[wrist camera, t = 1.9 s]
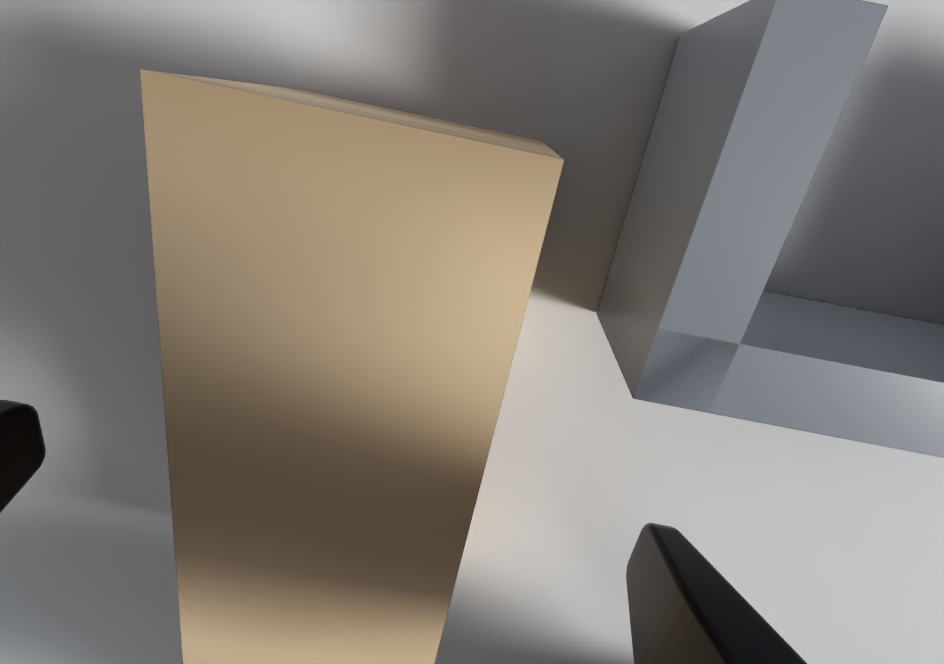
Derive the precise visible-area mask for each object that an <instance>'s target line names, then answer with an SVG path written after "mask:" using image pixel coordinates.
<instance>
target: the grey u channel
mask: <svg viewBox="0 0 944 664" xmlns="http://www.w3.org/2000/svg"><path fill="white" fill-rule="evenodd" d="M887 8H888V5H883V4H878V3H873V2H868V1H862V0H750V1H748V2H746V3H744V4H742V5H740V6H738V7H736V8H734V9H732V10H730V11H727V12H725V13H723V14H721V15H719V16H717V17H715V18H713V19H711V20H709V21H707V22H705V23H703V24H701V25H699V26H697V27H695V28H693V29H691V30H689V31H686V32H684V33H682V34H680V37H679V41H678V44H677V47H676V51H675V54H674V57H673V61H672V64H671V67H670V71H669V74H668V77H667V81H666V84H665V87H664V91H663V94H662V97H661V101H660V104H659V107H658V111H657V114H656V117H655V121H654V124H653V127H652V131H651V134H650V137H649V141H648V144H647V147H646V151H645V154H644V157H643V161H642V164H641V167H640V171H639V174H638V177H637V181H636V184H635V187H634V191H633V194H632V197H631V201H630V204H629V207H628V211H627V214H626V217H625V221H624V224H623V227H622V231H621V234H620V237H619V241H618V244H617V247H616V251H615V254H614V257H613V261H612V264H611V267H610V271H609V274H608V277H607V281H606V284H605V287H604V291H603V294H602V297H601V301H600V304H599V307H598V311H597V316H598V318H599V320H600V323H601V325H602V327H603V330H604V332H605V334H606V337H607V339H608V341H609V344H610V346H611V348H612V351H613V353H614V355H615V358H616V360H617V362H618V365H619V367H620V369H621V372H622V374H623V376H624V379H625V381H626V383H627V386H628V388H629V390H630V393H631V395H632V397H633V399H639V400H644V401H649V402H654V403H660V404H665V405H670V406H675V407H681V408H686V409H691V410H696V411H701V412H707V413H712V414H717V415H722V416H728V417H733V418H738V419H743V420H749V421H754V422H759V423H764V424H770V425H775V426H780V427H785V428H791V429H796V430H801V431H806V432H812V433H817V434H822V435H827V436H832V437H838V438H843V439H848V440H853V441H859V442H864V443H869V444H874V445H880V446H885V447H890V448H895V449H901V450H906V451H911V452H916V453H922V454H927V455H932V456H937V457H943V458H944V325H941V324H935V323H930V322H925V321H920V320H915V319H909V318H904V317H899V316H894V315H888V314H883V313H878V312H873V311H867V310H862V309H857V308H852V307H847V306H841V305H836V304H831V303H826V302H820V301H815V300H810V299H805V298H800V297H794V296H789V295H784V294H779V293H773V292H768V291H763V290H764V287H765V285H766V283H767V281H768V278H769V276H770V274H771V272H772V269H773V267H774V265H775V262H776V260H777V258H778V256H779V253H780V251H781V249H782V247H783V244H784V242H785V240H786V237H787V235H788V233H789V231H790V228H791V226H792V224H793V222H794V219H795V217H796V215H797V213H798V210H799V208H800V206H801V203H802V201H803V199H804V197H805V194H806V192H807V190H808V188H809V185H810V183H811V181H812V178H813V176H814V174H815V172H816V169H817V167H818V165H819V163H820V160H821V158H822V156H823V153H824V151H825V149H826V147H827V144H828V142H829V140H830V138H831V135H832V133H833V131H834V128H835V126H836V124H837V122H838V119H839V117H840V115H841V113H842V110H843V108H844V106H845V103H846V101H847V99H848V97H849V94H850V92H851V90H852V88H853V85H854V83H855V81H856V78H857V76H858V74H859V72H860V69H861V67H862V65H863V63H864V60H865V58H866V56H867V53H868V51H869V49H870V47H871V44H872V42H873V40H874V38H875V35H876V33H877V31H878V28H879V26H880V24H881V22H882V19H883V17H884V15H885V13H886V10H887Z"/></svg>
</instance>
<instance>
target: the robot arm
mask: <svg viewBox="0 0 944 664" xmlns="http://www.w3.org/2000/svg"><path fill="white" fill-rule="evenodd" d="M45 453H46V449H45V444H44V439H43V435H42V430H41V426H40V421H39V417H38V413H37V411H36V410H35V408H34V407H33V406H30V405H28V404H24V403H19V402H14V401H8V400H0V513H1V511H2V510H3V509H4V508H5V507H6V506H7V505H8V503H9V502H10V501H11V500H12V499H13V498H14V496H15V495H16V494H17V493H18V492H19V491H20V490H21V488H22V487H23V486H24V485H25V484H26V483H27V481H28V480H29V479H30V478H31V477H32V476H33V475H34V473H35V472H36V471H37V470H38V469H39V467H40V466H41V464H42V462H43V460H44V458H45ZM626 581H627V592H628V602H629V613H630V624H631V634H632V645H633V656H634V664H807V663H806V662H805V661H804V660H803V659H802V658H801V657H800V656H799V655H798V654H797V653H796V652H795V650H794V649H793V648H792V647H791V646H790V645H789V644H788V643H787V642H786V641H785V640H784V639H783V638H782V637H781V636H780V635H779V634H778V633H777V632H776V631H775V630H774V629H773V628H772V627H771V626H770V625H769V624H768V623H767V622H766V621H765V619H764V618H763V617H762V616H761V615H760V614H759V613H758V612H757V611H756V610H755V609H754V608H753V607H752V606H751V605H750V604H749V603H748V602H747V601H746V600H745V599H744V598H743V597H742V596H741V595H740V594H739V593H738V592H737V591H736V590H735V588H734V587H733V586H732V585H731V584H730V583H729V582H728V581H727V580H726V579H725V578H724V577H723V576H722V575H721V574H720V573H719V572H718V571H717V570H716V569H715V568H714V567H713V566H712V565H711V564H710V563H709V562H708V561H707V560H706V559H705V558H704V556H703V555H702V554H701V553H700V552H699V551H698V550H697V549H696V548H695V547H694V546H693V545H692V544H691V543H690V542H689V541H688V540H687V539H686V538H685V537H684V536H683V535H682V534H681V533H680V532H679V531H678V530H677V529H675V528H673V527H670V526H665V525H659V524H654V523H648V524H646V525H645V526H644V527H643V529H642V530H641V533H640V535H639V537H638V540H637V542H636V545H635V547H634V549H633V552H632V554H631V556H630V559H629V562H628V565H627V572H626Z"/></svg>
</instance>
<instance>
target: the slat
mask: <svg viewBox="0 0 944 664" xmlns="http://www.w3.org/2000/svg"><path fill="white" fill-rule="evenodd" d="M140 78H141V91H142V105H143V119H144V133H145V146H146V160H147V174H148V188H149V202H150V215H151V229H152V243H153V257H154V270H155V284H156V298H157V312H158V325H159V339H160V353H161V367H162V381H163V394H164V408H165V422H166V436H167V449H168V463H169V477H170V491H171V504H172V518H173V532H174V546H175V560H176V573H177V587H178V601H179V615H180V628H181V642H182V656H183V664H434V663H435V659H436V655H437V651H438V647H439V643H440V639H441V636H442V632H443V628H444V624H445V620H446V616H447V612H448V608H449V605H450V601H451V597H452V593H453V589H454V585H455V581H456V577H457V574H458V570H459V566H460V562H461V558H462V554H463V550H464V546H465V543H466V539H467V535H468V531H469V527H470V523H471V519H472V515H473V512H474V508H475V504H476V500H477V496H478V492H479V488H480V484H481V481H482V477H483V473H484V469H485V465H486V461H487V457H488V453H489V450H490V446H491V442H492V438H493V434H494V430H495V426H496V422H497V419H498V415H499V411H500V407H501V403H502V399H503V395H504V391H505V388H506V384H507V380H508V376H509V372H510V368H511V364H512V360H513V357H514V353H515V349H516V345H517V341H518V337H519V333H520V329H521V326H522V322H523V318H524V314H525V310H526V306H527V302H528V298H529V295H530V291H531V287H532V283H533V279H534V275H535V271H536V267H537V264H538V260H539V256H540V252H541V248H542V244H543V240H544V236H545V233H546V229H547V225H548V221H549V217H550V213H551V209H552V205H553V202H554V198H555V194H556V190H557V186H558V182H559V178H560V174H561V171H562V167H563V163H564V159H563V158H562V157H560V156H559V155H558V154H557V153H556V152H555V151H553V150H552V149H551V148H550V147H549V146H548V145H546V144H545V143H544V142H543V141H540V140H535V139H531V138H526V137H521V136H517V135H512V134H507V133H503V132H498V131H493V130H489V129H484V128H479V127H475V126H470V125H465V124H461V123H456V122H451V121H447V120H442V119H437V118H433V117H428V116H423V115H419V114H414V113H409V112H404V111H400V110H395V109H390V108H386V107H381V106H376V105H372V104H367V103H362V102H358V101H353V100H348V99H344V98H339V97H334V96H330V95H325V94H320V93H316V92H311V91H306V90H302V89H294V88H286V87H278V86H270V85H262V84H254V83H246V82H238V81H230V80H222V79H214V78H206V77H198V76H190V75H182V74H174V73H166V72H158V71H150V70H142V69H140Z"/></svg>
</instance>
